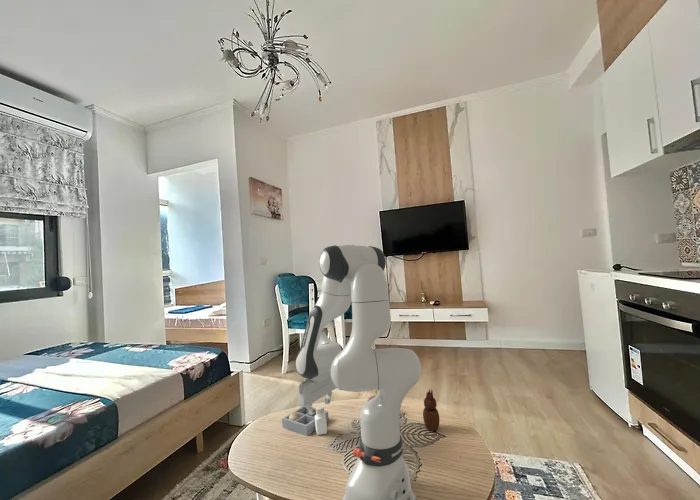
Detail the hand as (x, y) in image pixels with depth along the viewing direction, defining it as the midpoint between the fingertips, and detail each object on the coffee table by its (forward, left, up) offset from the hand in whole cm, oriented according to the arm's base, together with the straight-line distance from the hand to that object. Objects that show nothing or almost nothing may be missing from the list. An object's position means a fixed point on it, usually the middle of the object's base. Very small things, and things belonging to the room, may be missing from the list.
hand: (319, 408), depth 124 cm
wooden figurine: (+21, -36, -9) cm, 43 cm away
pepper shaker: (-1, 0, -9) cm, 9 cm away
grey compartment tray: (+1, +10, -9) cm, 13 cm away
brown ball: (-2, +13, -8) cm, 15 cm away
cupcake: (+23, -12, -9) cm, 27 cm away
